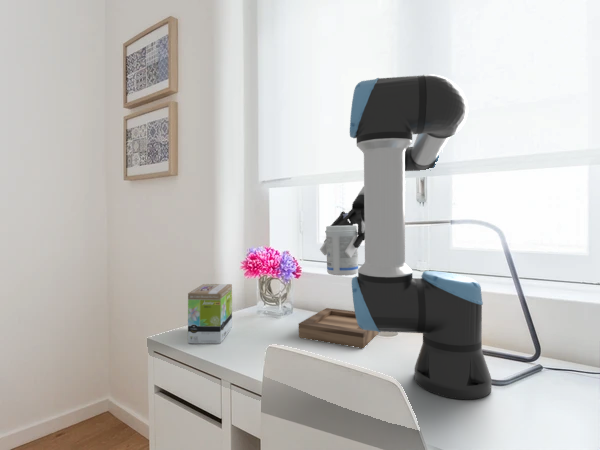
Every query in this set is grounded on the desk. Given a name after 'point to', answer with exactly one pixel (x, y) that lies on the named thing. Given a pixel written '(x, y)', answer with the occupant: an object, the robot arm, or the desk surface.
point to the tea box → (209, 313)
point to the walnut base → (336, 328)
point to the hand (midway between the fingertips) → (334, 253)
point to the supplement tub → (340, 250)
